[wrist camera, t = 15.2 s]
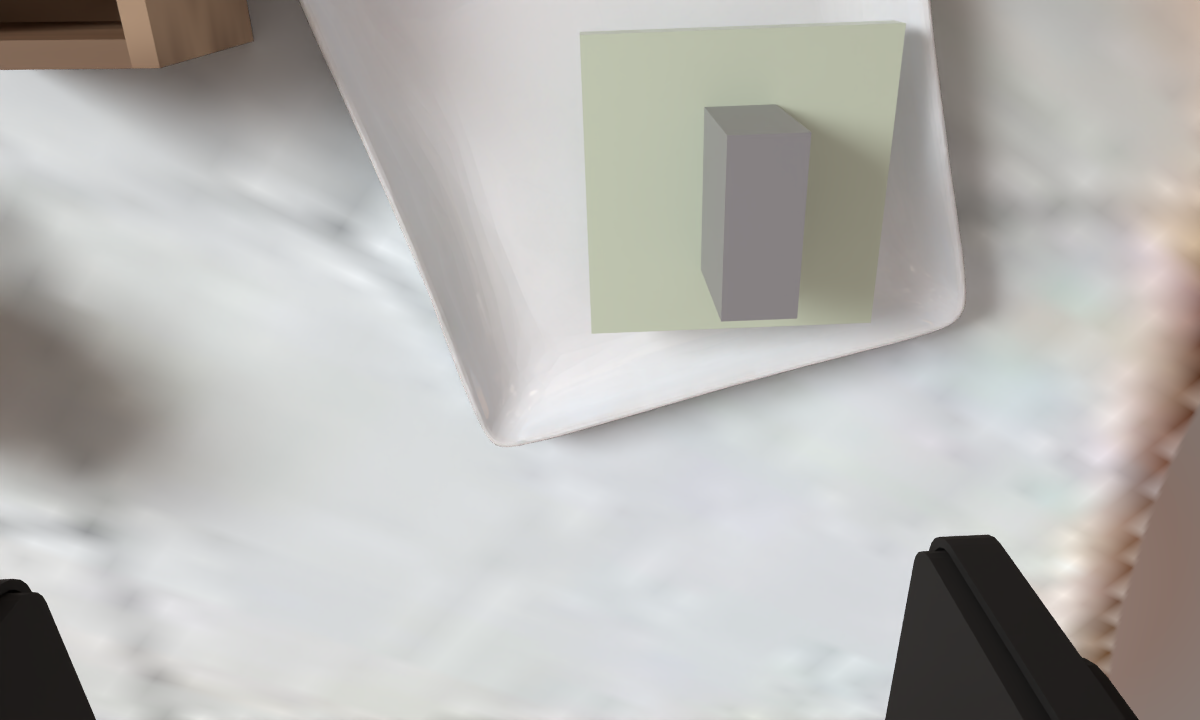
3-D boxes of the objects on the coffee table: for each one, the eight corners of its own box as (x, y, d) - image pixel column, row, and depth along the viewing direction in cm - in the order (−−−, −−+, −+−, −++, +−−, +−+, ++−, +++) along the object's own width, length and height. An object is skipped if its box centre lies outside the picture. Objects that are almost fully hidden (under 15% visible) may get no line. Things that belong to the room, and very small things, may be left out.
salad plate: (945, 295, 38) (978, 326, 35) (498, 421, 40) (491, 461, 37) (871, -257, 29) (906, -281, 26) (300, -54, 31) (269, -54, 28)
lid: (579, 31, 29) (580, 51, 24) (894, 20, 30) (968, 37, 24) (591, 321, 34) (594, 394, 29) (861, 311, 34) (916, 381, 29)
